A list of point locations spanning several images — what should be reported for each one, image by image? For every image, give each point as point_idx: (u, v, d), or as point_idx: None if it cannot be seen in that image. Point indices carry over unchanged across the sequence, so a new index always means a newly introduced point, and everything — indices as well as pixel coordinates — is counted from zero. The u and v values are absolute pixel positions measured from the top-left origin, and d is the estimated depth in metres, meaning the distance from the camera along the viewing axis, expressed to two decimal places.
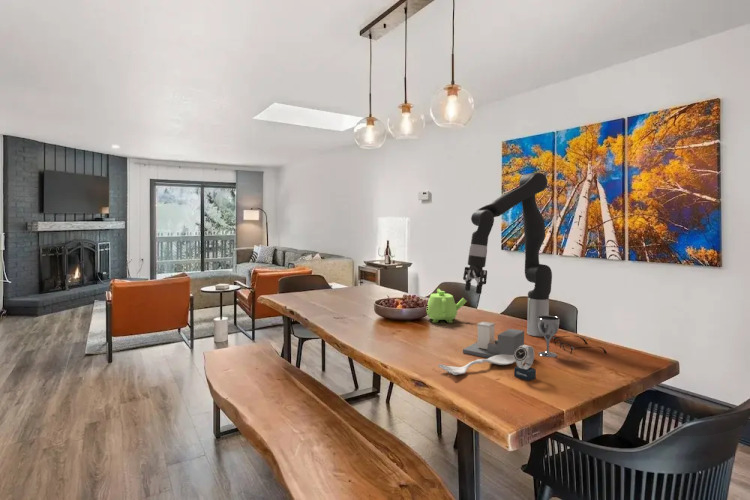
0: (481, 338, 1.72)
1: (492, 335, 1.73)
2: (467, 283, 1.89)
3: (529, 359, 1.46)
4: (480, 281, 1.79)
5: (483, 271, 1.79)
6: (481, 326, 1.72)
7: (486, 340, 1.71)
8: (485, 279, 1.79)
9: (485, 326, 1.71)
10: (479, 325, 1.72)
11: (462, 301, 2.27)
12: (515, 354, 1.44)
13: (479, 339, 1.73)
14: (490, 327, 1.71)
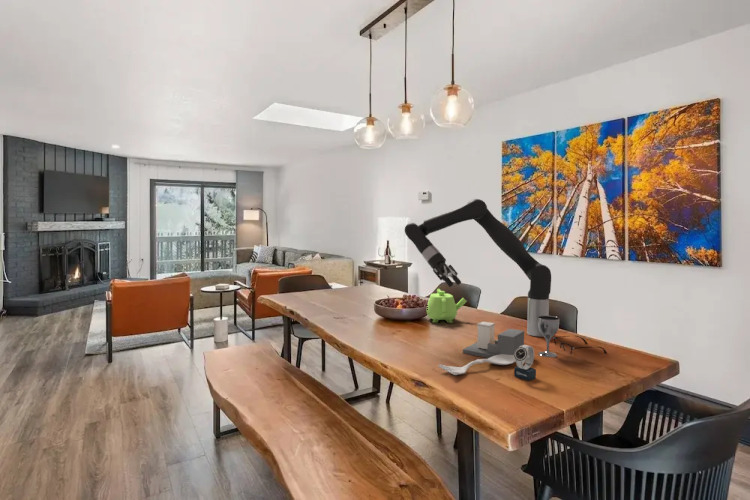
0: (481, 338, 1.72)
1: (492, 335, 1.73)
2: (454, 279, 1.95)
3: (529, 359, 1.46)
4: (440, 278, 1.89)
5: (434, 270, 1.90)
6: (481, 326, 1.72)
7: (486, 340, 1.71)
8: (440, 274, 1.88)
9: (485, 326, 1.71)
10: (479, 325, 1.72)
11: (462, 301, 2.27)
12: (515, 354, 1.44)
13: (479, 339, 1.73)
14: (490, 327, 1.71)
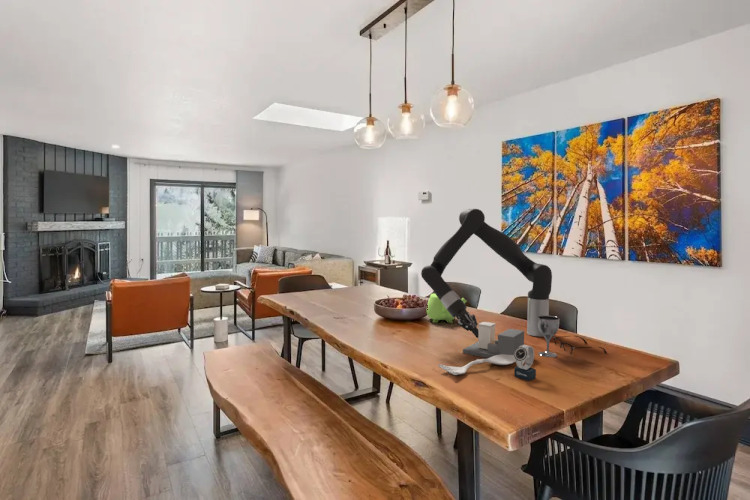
0: (482, 338, 1.72)
1: (493, 335, 1.72)
2: None
3: (529, 359, 1.46)
4: None
5: (459, 323, 1.74)
6: (481, 326, 1.72)
7: (487, 341, 1.71)
8: (467, 326, 1.74)
9: (486, 326, 1.71)
10: (480, 325, 1.72)
11: None
12: (515, 354, 1.44)
13: (480, 339, 1.72)
14: (491, 327, 1.70)
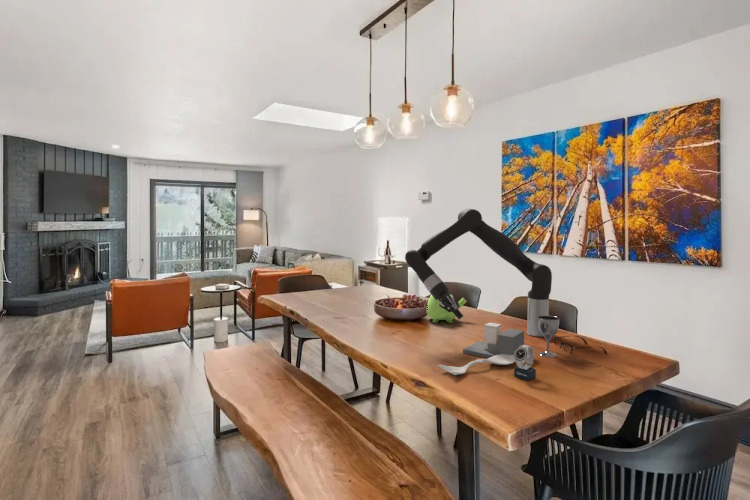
0: (488, 339, 1.70)
1: None
2: None
3: (529, 359, 1.46)
4: None
5: (441, 305, 1.79)
6: (487, 327, 1.70)
7: (493, 342, 1.69)
8: (449, 307, 1.79)
9: (492, 327, 1.69)
10: (486, 326, 1.71)
11: (462, 301, 2.27)
12: (515, 354, 1.44)
13: (486, 341, 1.71)
14: (497, 328, 1.69)
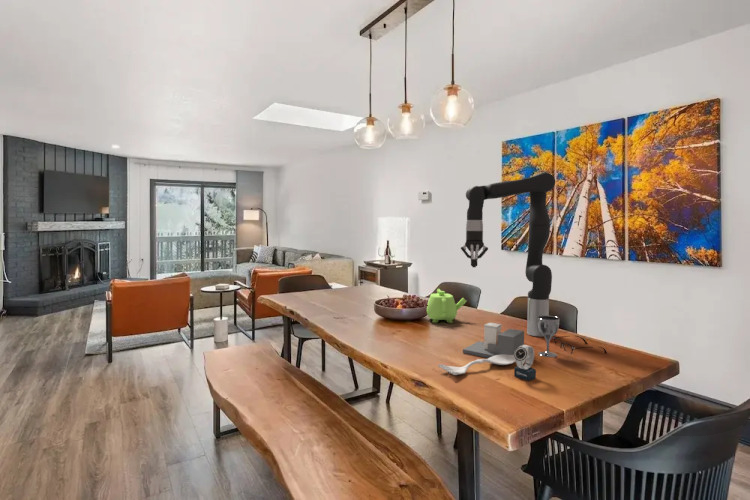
0: (488, 339, 1.70)
1: None
2: None
3: (529, 359, 1.46)
4: None
5: None
6: (487, 327, 1.70)
7: (493, 342, 1.69)
8: (465, 254, 1.97)
9: (492, 327, 1.69)
10: (486, 326, 1.71)
11: (462, 301, 2.27)
12: (515, 354, 1.44)
13: (486, 341, 1.71)
14: (497, 328, 1.69)
